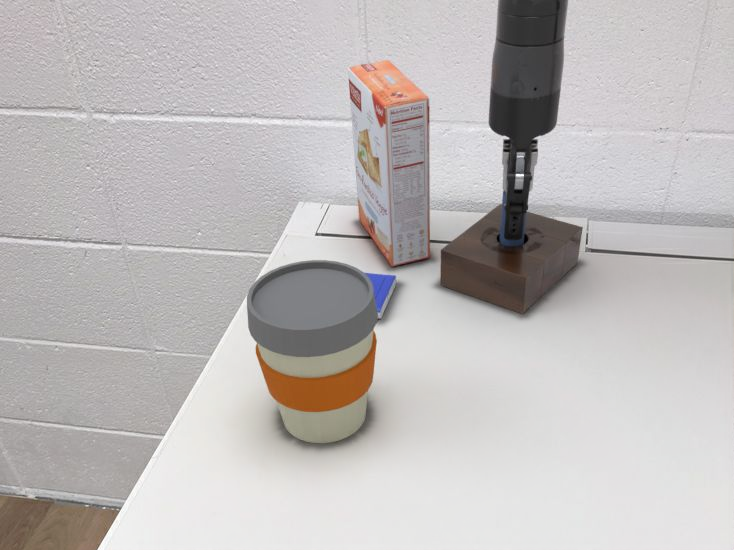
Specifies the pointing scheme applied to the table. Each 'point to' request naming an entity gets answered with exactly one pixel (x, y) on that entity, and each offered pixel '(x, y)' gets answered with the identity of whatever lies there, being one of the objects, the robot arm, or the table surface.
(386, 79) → the cracker box
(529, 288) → the walnut block
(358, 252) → the table surface
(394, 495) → the table surface
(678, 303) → the table surface
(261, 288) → the reusable coffee cup
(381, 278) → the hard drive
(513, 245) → the peg
